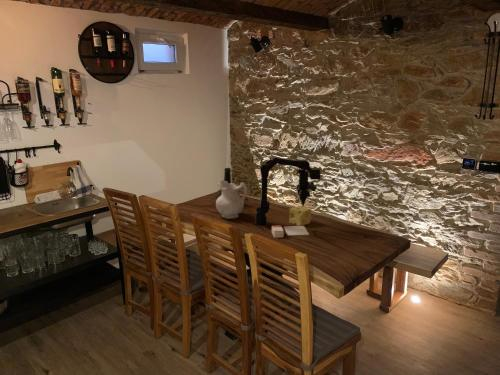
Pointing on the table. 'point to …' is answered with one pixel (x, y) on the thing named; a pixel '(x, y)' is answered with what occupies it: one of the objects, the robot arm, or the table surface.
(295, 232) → the grey mat
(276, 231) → the card box
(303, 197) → the robot arm
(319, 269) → the table surface
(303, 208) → the cheese
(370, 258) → the table surface
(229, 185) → the ceramic pitcher
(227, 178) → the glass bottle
